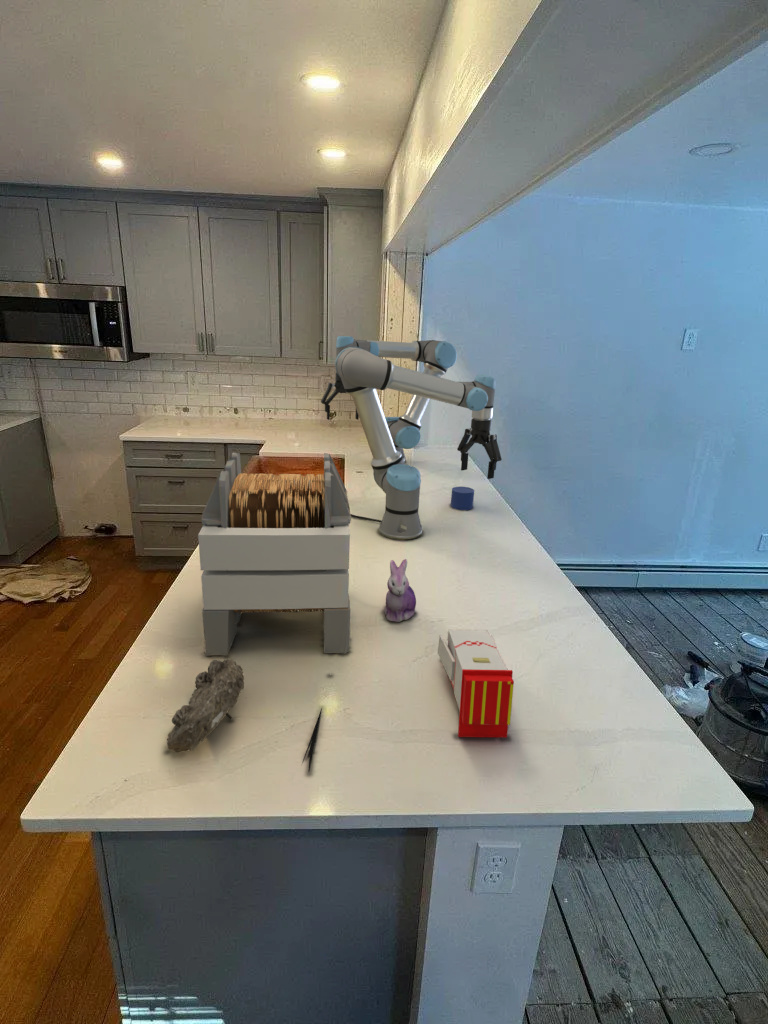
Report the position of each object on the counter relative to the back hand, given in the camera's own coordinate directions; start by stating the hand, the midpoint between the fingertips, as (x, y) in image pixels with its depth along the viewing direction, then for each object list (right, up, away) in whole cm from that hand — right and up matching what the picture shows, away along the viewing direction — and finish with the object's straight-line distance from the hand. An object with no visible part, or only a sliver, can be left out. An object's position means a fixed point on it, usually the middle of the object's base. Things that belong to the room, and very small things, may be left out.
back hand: (342, 419), depth 261 cm
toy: (+37, -80, -143) cm, 168 cm away
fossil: (-14, -82, -153) cm, 174 cm away
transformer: (-7, -69, -118) cm, 137 cm away
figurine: (+23, -69, -114) cm, 135 cm away
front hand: (+55, -28, -45) cm, 76 cm away
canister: (+51, -40, -30) cm, 72 cm away
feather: (+7, -83, -153) cm, 174 cm away
